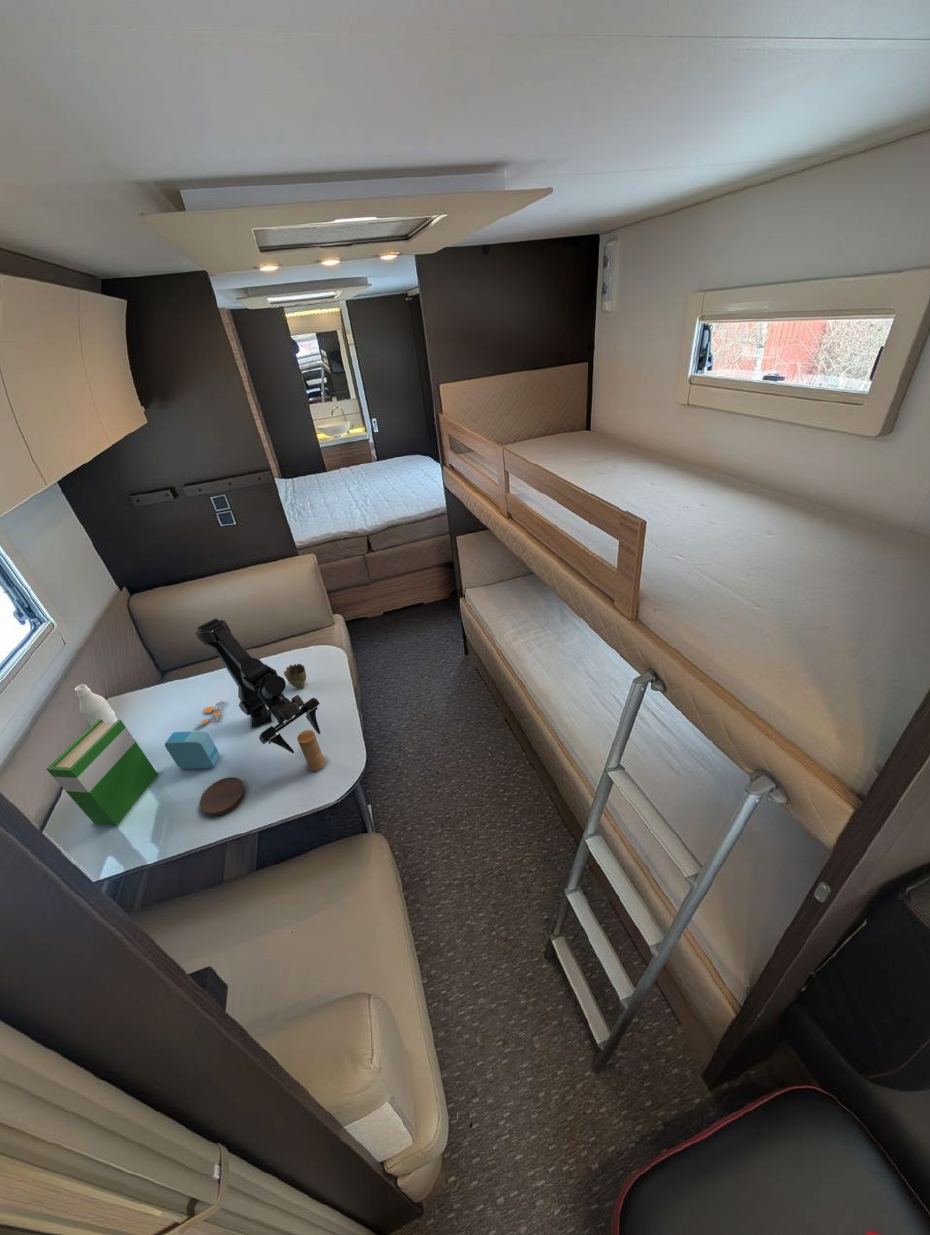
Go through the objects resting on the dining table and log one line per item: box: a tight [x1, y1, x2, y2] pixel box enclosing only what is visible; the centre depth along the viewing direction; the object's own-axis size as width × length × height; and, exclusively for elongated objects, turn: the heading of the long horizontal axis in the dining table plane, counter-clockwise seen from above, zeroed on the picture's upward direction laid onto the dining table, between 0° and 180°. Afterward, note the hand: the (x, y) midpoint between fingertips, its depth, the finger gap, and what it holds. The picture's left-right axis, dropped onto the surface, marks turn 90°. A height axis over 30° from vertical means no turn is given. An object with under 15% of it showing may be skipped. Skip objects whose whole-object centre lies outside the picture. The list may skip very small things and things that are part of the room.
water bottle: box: [74, 683, 118, 727], centre depth 156 cm, size 7×7×25 cm
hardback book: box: [46, 719, 159, 827], centre depth 136 cm, size 18×7×24 cm, turn 172°
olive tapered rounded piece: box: [283, 663, 307, 689], centre depth 177 cm, size 8×7×8 cm
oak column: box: [296, 729, 326, 772], centre depth 143 cm, size 5×5×12 cm
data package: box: [164, 730, 221, 770], centre depth 148 cm, size 12×4×12 cm, turn 87°
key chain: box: [195, 701, 226, 730], centre depth 169 cm, size 13×7×1 cm, turn 2°
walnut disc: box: [199, 776, 247, 818], centre depth 139 cm, size 12×12×2 cm
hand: (306, 743), depth 143 cm, fingers open, 9 cm apart
